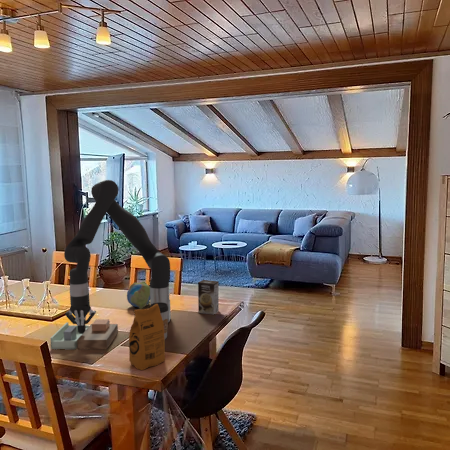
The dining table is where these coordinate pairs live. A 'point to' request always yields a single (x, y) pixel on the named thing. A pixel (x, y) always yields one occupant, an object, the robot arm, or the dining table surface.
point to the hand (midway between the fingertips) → (81, 333)
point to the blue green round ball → (139, 295)
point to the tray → (58, 338)
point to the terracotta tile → (100, 325)
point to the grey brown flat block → (97, 338)
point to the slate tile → (70, 334)
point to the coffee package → (147, 338)
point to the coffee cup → (163, 315)
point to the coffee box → (208, 297)
